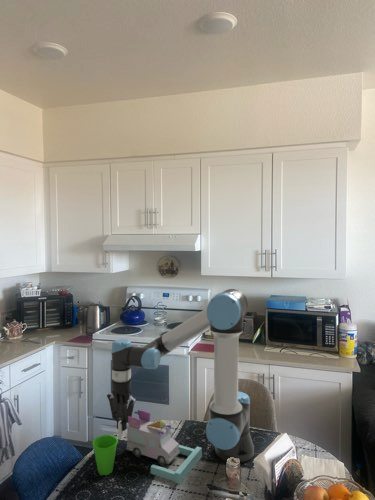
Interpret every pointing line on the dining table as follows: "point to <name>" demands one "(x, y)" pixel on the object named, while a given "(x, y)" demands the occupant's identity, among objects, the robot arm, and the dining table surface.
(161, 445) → the toy vehicle
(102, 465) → the cup
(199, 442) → the dining table surface
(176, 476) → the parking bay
